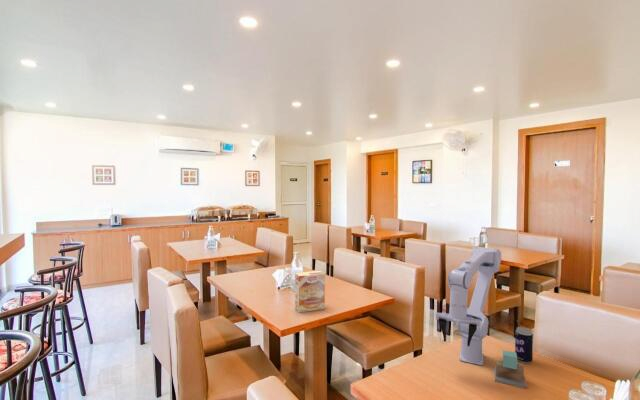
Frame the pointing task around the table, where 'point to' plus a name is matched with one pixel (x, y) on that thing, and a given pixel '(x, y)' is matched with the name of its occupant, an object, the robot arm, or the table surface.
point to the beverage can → (524, 344)
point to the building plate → (509, 380)
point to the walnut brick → (509, 372)
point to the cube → (509, 359)
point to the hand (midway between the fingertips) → (456, 342)
